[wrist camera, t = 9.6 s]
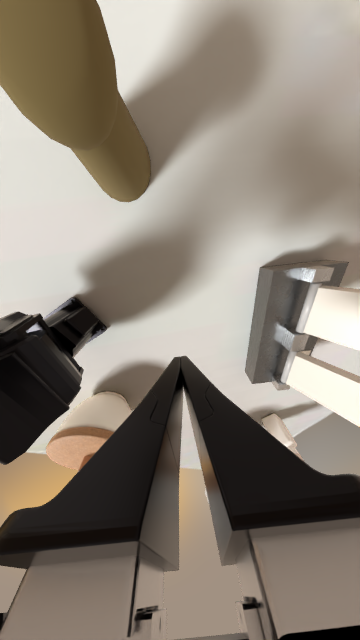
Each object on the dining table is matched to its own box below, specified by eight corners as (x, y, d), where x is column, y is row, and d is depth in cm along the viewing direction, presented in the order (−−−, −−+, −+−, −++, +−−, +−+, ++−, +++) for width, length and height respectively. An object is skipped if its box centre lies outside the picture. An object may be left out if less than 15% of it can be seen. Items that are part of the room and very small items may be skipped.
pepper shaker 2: (267, 424, 39) (293, 473, 30) (259, 418, 37) (285, 468, 29) (280, 417, 38) (312, 467, 29) (273, 411, 36) (304, 461, 28)
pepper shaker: (154, 131, 14) (108, -161, 4) (147, 208, 16) (111, 153, 7) (86, 108, 13) (-191, -334, 3) (91, 194, 15) (-48, 105, 6)
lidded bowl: (135, 381, 29) (116, 450, 19) (141, 417, 35) (130, 484, 25) (70, 382, 28) (16, 455, 18) (88, 419, 34) (54, 489, 24)
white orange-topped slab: (278, 381, 24) (373, 437, 17) (287, 350, 21) (408, 402, 14) (282, 376, 25) (375, 429, 17) (292, 346, 22) (410, 394, 14)
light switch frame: (244, 371, 29) (257, 392, 25) (259, 267, 20) (283, 273, 16) (289, 366, 29) (309, 386, 25) (324, 259, 20) (366, 263, 16)
